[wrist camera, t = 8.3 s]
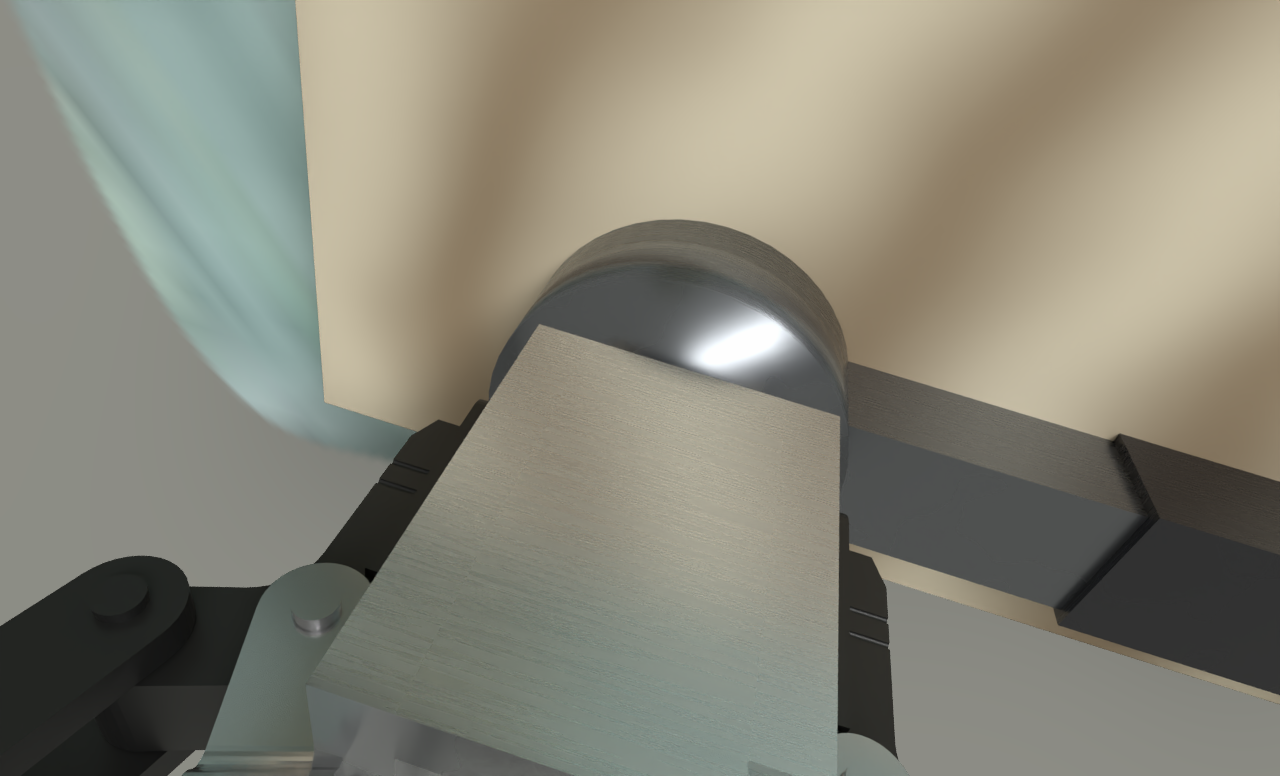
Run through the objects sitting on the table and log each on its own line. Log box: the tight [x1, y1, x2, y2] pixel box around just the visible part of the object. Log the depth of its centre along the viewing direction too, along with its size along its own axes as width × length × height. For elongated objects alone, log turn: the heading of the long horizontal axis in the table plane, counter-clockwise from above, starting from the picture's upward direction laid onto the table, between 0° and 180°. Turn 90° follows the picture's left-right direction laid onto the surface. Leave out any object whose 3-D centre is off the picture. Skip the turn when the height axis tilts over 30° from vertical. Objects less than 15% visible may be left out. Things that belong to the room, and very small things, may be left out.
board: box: [295, 0, 1280, 704], centre depth 13 cm, size 24×16×1 cm, turn 78°
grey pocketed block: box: [305, 324, 840, 776], centre depth 10 cm, size 5×5×6 cm
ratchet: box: [489, 219, 1280, 695], centre depth 12 cm, size 18×6×7 cm, turn 78°
